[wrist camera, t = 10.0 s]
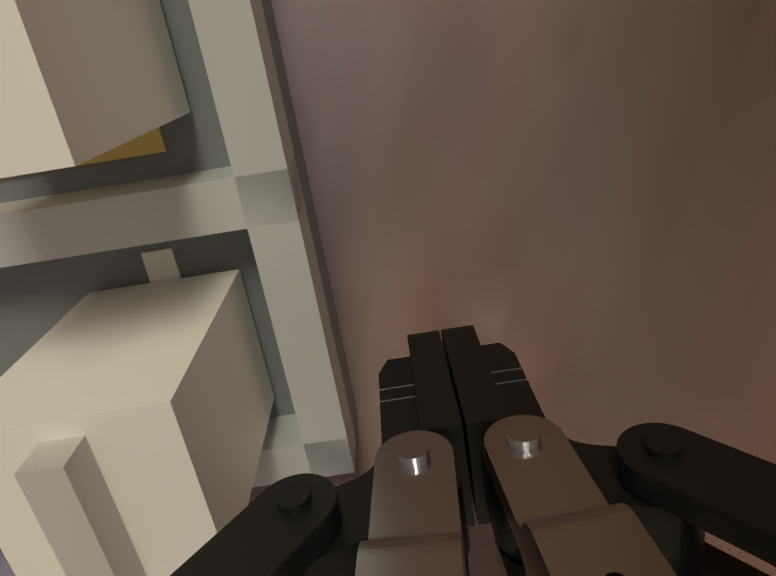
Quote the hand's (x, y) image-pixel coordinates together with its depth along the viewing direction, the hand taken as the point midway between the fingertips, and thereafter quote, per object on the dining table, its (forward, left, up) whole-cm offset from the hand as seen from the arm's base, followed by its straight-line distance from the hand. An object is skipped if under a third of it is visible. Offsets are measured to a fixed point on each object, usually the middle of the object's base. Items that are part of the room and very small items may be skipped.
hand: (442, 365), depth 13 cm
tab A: (+7, 0, -3) cm, 7 cm away
